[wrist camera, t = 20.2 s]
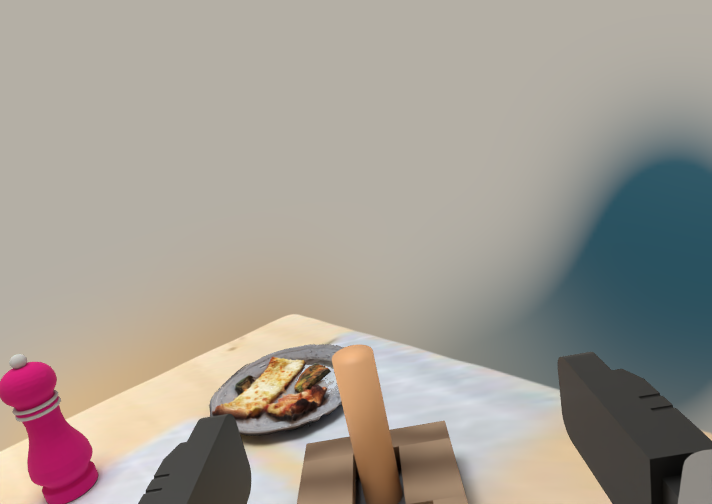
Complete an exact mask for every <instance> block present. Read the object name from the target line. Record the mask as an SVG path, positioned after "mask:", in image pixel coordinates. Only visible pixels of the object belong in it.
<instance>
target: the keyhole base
mask: <svg viewBox="0 0 712 504" xmlns="http://www.w3.org/2000/svg"><path fill="white" fill-rule="evenodd" d="M390 435H391V440H392V445H393V449H394V454H395V459H396V464H397V468H399V469H402V477H403V486H404V494H405V502H406V504H468V502H467V498H466V494H465V491H464V487H463V484H462V480H461V477H460V473H459V470H458V466H457V463H456V459H455V455H454V452H453V448H452V445H451V441H450V438H449V434H448V431H447V427H446V423H445V421H440V422H434V423H428V424H422V425H416V426H410V427H404V428H398V429H392V430H390ZM359 478H360V477H359V473H358V469H357V464H356V460H355V456H354V452H353V448H352V443H351V439H350V437H345V438H339V439H333V440H327V441H321V442H315V443H309V444H307V445H306V451H305V457H304V463H303V469H302V475H301V482H300V488H299V494H298V500H297V504H356V479H359Z"/></svg>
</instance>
